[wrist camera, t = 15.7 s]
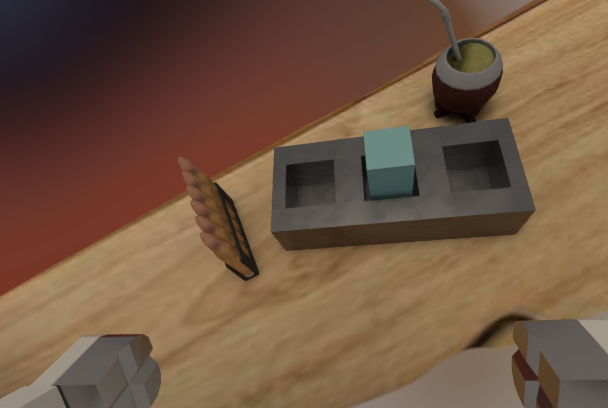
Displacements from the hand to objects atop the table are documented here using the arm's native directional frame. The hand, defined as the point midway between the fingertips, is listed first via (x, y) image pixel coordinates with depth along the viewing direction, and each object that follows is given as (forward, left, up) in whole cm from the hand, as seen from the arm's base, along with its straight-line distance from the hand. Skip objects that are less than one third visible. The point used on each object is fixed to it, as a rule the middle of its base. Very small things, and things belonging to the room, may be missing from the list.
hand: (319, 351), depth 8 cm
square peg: (+3, +18, -29) cm, 34 cm away
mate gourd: (+12, +30, -30) cm, 44 cm away
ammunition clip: (-15, +15, -30) cm, 37 cm away
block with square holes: (+3, +18, -30) cm, 35 cm away
